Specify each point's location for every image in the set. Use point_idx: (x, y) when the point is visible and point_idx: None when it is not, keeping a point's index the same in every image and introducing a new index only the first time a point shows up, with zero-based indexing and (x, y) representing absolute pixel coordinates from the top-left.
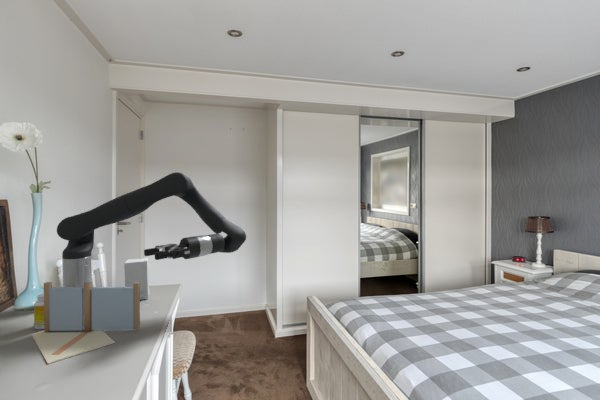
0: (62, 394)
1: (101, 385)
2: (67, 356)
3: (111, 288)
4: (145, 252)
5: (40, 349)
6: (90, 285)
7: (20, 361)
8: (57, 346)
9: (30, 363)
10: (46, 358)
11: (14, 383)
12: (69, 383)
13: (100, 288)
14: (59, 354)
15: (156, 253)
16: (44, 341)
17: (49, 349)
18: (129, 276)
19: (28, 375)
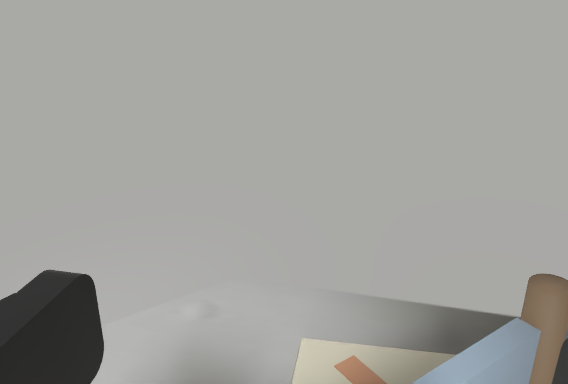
0: (119, 319)
1: None
2: (297, 374)
3: (430, 374)
4: (558, 379)
5: (423, 351)
6: (529, 303)
7: (384, 316)
8: (407, 381)
9: (349, 324)
10: (337, 343)
11: (270, 290)
12: (146, 338)
13: (481, 342)
14: (333, 367)
15: (45, 274)
16: None
17: (400, 363)
18: None
19: (281, 308)
